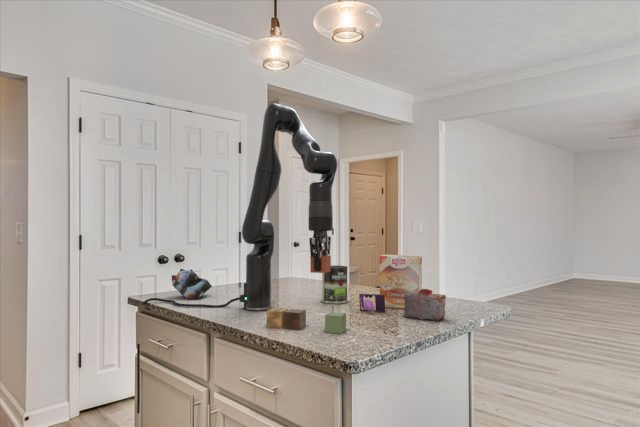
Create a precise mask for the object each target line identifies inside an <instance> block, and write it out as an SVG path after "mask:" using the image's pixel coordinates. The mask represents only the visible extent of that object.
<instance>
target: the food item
mask: <svg viewBox="0 0 640 427" xmlns="http://www.w3.org/2000/svg"><path fill="white" fill-rule="evenodd" d="M404 300H405V309H404V318H411V319H419V320H422V321H423V320H431V321H441V320H442V319H444V318H445V317H446V308H445V307H446V300H447V296H446V294H441V293H433V290H431V289H429V288H422V290H420V291H419V292H410V291H408V292H407V293H405V295H404Z"/></svg>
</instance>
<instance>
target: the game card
mask: <svg viewBox="0 0 640 427" xmlns="http://www.w3.org/2000/svg"><path fill="white" fill-rule="evenodd" d="M373 297H374V303H375V306H374V304H373V301H371V300H370V299H372V298H373ZM358 298H359V310H360V311H362V312H371V313H372V314H374V313H375V312H378V313H386V307H385V295H380V293H378V294H377V293H359V295H358ZM368 298H369V299H368ZM364 299H365V300H364Z"/></svg>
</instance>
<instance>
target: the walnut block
mask: <svg viewBox="0 0 640 427" xmlns="http://www.w3.org/2000/svg"><path fill="white" fill-rule="evenodd" d="M306 314H307V310H306V309H297V308H290V309H288V311H286V312H285V326H284V329H287V330H296V331H297V330H298V331H300V330H302V329H304V328H306V326H307V315H306Z"/></svg>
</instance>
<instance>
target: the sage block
mask: <svg viewBox="0 0 640 427" xmlns="http://www.w3.org/2000/svg"><path fill="white" fill-rule="evenodd" d="M346 330H347V313H346V312H336V311H329V312H328V313H326V314H324V333H330V334H343V333H344V332H346Z"/></svg>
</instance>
